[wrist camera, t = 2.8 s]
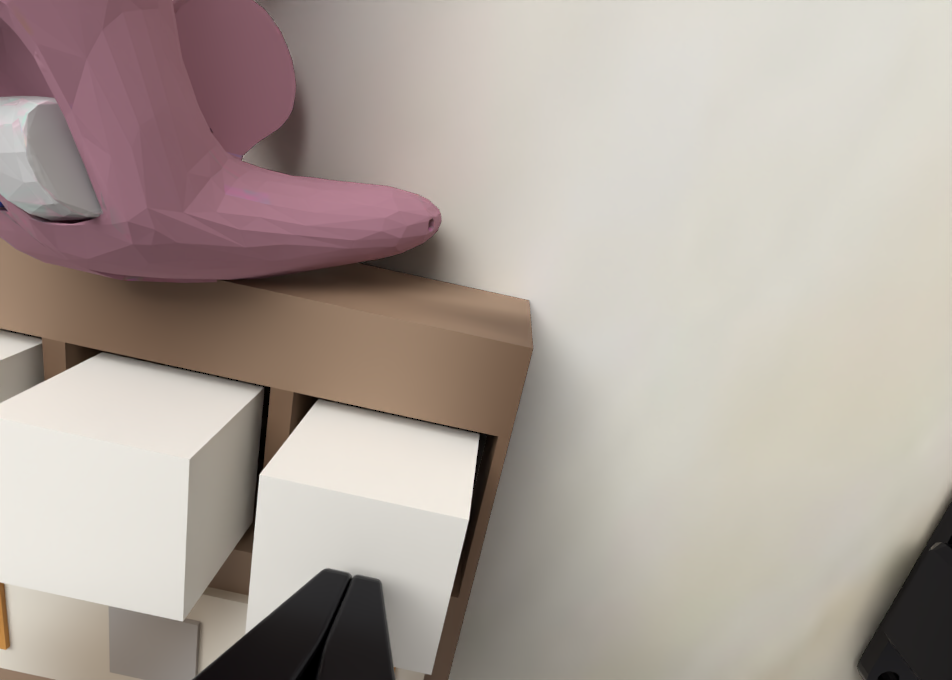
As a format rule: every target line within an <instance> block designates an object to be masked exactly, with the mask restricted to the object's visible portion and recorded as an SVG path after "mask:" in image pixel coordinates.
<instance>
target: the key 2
mask: <svg viewBox="0 0 952 680" xmlns="http://www.w3.org/2000/svg"><path fill="white" fill-rule="evenodd" d="M479 435H480V434H477V433H473V432H468V431H464V430H459V429H454V428H450V427H445V426H441V425H436V424H431V423H427V422H422V421H418V420H413V419H408V418H404V417H399V416H395V415H390V414H385V413H381V412H376V411H372V410H367V409H362V408H358V407H353V406H349V405H344V404H339V403H335V402H330V401H325V400H321V399H318V400H317V401H316V403H315V404H314V405H313V406H312V408H311V409H310V410H309V412H308V413H307V414H306V415H305V417H304V418H303V419H302V421H301V422H300V423H299V424H298V426H297V427H296V428H295V430H294V431H293V432H292V433H291V435H290V436H289V437H288V439H287V440H286V441H285V442H284V444H283V445H282V446H281V448H280V449H279V450H278V451H277V453H276V454H275V455H274V457H273V458H272V459H271V460H270V462H269V463H268V464H267V466H266V467H265V468H264V469H263V471H262V472H261V473H260V475H259V486H258V497H257V508H256V519H255V530H254V542H253V553H252V564H251V575H250V586H249V597H248V609H247V620H246V631H245V634H246V633H248V632H249V631H250V630H251V629H252V628H254V627H255V626H256V625H257V624H258V623H260V622H261V621H262V620H263V619H264V618H266V617H267V616H268V615H269V614H270V613H271V612H273V611H274V610H275V609H276V608H277V607H279V606H280V605H281V604H282V603H283V602H285V601H286V600H287V599H288V598H289V597H291V596H292V595H293V594H294V593H295V592H296V591H298V590H299V589H300V588H301V587H302V586H304V585H305V584H306V583H307V582H308V581H310V580H311V579H312V578H313V577H314V576H315V575H317V574H318V573H319V572H320V571H322V570H323V569H325V568H331V569H335V570H340V571H345V572H349V573H350V574H351V575H352V578H353V577H354V576H355V575H363V576H368V577H372V578H377V579H379V580H380V581H381V583H382V587H383V594H384V601H385V608H386V615H387V622H388V630H389V637H390V644H391V651H392V658H393V665H394V667H396V668H401V669H406V670H410V671H415V672H420V673H424V674H429V675H431V674H432V670H433V666H434V662H435V658H436V653H437V649H438V645H439V641H440V637H441V633H442V629H443V625H444V620H445V616H446V612H447V608H448V604H449V600H450V596H451V592H452V588H453V583H454V579H455V575H456V571H457V567H458V563H459V559H460V555H461V551H462V546H463V542H464V538H465V534H466V530H467V526H468V522H469V516H470V508H471V499H472V491H473V483H474V475H475V467H476V459H477V451H478V443H479Z"/></svg>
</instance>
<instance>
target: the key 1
mask: <svg viewBox="0 0 952 680" xmlns="http://www.w3.org/2000/svg"><path fill="white" fill-rule="evenodd" d="M42 382H44V364H43V347H42V339H40V338H35V337H31V336H26V335H21V334H17V333H12V332H8V331H3V330H0V403H2V402H4V401H6V400H8V399H10V398H12V397H14V396H16V395H18V394H20V393H22V392H24V391H26V390H28V389H30V388H32V387H34V386H36V385H38V384H40V383H42Z"/></svg>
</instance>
